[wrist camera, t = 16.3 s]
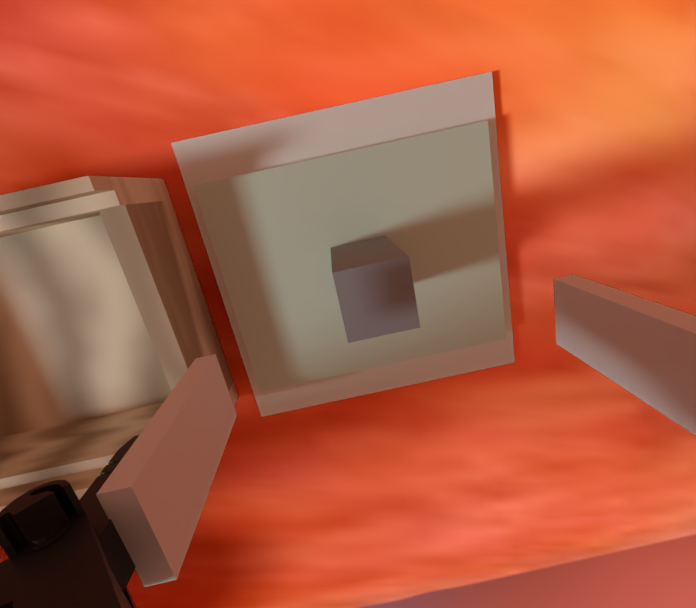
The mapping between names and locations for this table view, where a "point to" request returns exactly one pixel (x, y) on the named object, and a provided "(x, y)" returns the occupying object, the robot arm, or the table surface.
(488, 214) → the sliding lid
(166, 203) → the wooden box
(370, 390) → the grey tray
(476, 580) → the table surface
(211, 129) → the table surface
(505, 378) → the table surface
